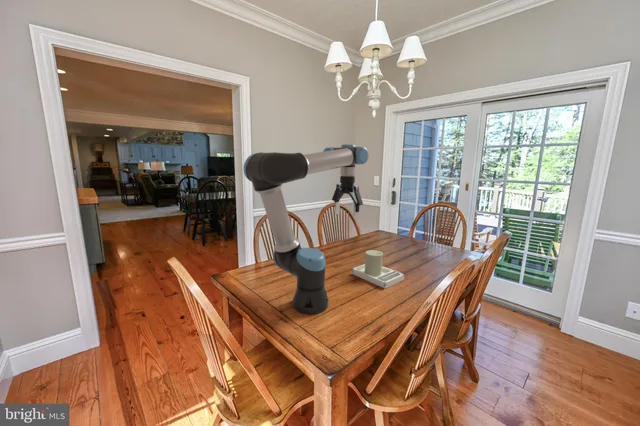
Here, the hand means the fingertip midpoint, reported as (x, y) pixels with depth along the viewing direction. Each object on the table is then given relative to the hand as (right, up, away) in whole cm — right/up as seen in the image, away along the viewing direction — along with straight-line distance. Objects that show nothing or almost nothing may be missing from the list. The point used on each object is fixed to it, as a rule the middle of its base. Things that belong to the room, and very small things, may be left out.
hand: (346, 216), depth 139 cm
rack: (+17, -32, +1) cm, 36 cm away
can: (+15, -31, +3) cm, 35 cm away
